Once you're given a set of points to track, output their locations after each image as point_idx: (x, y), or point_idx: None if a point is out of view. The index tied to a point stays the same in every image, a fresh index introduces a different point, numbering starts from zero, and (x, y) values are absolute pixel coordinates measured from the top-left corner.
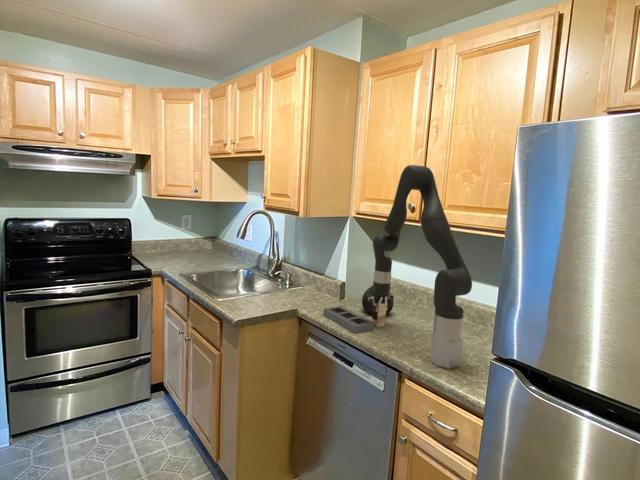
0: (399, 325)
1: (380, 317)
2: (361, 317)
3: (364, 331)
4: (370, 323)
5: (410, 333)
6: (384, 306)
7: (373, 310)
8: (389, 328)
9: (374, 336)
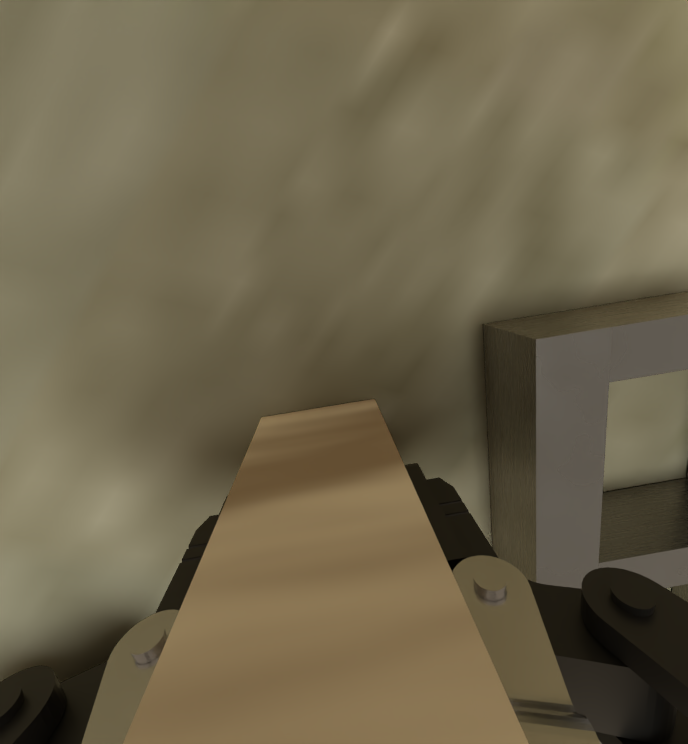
0: (51, 376)
1: (354, 463)
2: (564, 571)
3: (628, 301)
4: (609, 335)
5: (13, 35)
6: (233, 718)
7: (613, 582)
8: (251, 315)
9: (620, 111)
